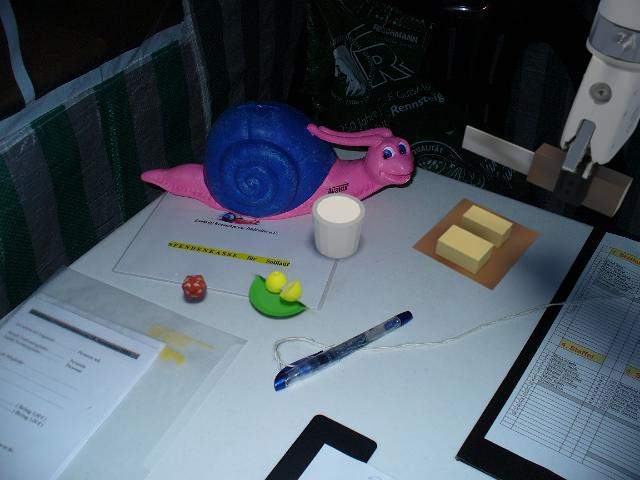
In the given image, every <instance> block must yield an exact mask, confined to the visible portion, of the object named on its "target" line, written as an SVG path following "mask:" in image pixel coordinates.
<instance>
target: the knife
mask: <svg viewBox="0 0 640 480" xmlns="http://www.w3.org/2000/svg"><path fill="white" fill-rule="evenodd" d="M461 148H462V149H465V150H467V151H470V152H472V153H475V154H476V155H478V156H482V157H484V158H486V159H489V160H491V161H493V162H495V163H497V164H500V165H502V166H505V167H507V168H509V169H511V170H514V171H516V172H519V173H522V174H524V175H526V179H525V181H526V182H529V183H531V184H533V185H536V186H538V187H540V188H543V189H545V190H547V191H549V192H551V193H553V190H554V188H555V185H556V182H557V179H558V177H559V174H560V171H561V168H562V166H563V164H564V161H565V159H566V156H567V153H568V151H565V150H563V149H562V148H558V147H555V146H554V145H551V144H548V143H546V142H543V143H542V145H540V146H539V147H538V149H536V150H535V151H534V152H533V151H531V150H529V149H526V148H524V147H523V146H519V145H517V144H514V143H512V142H509V141H506V140H505V139H502V138H499V137H497V136H496V135H495V136H494V135H492V134H489V133H487V132H485V131H482V130H480V129H477V128H475V127H473V126H470V125H466V127H465V131H464V135H463V141H462V145H461ZM582 160H583V161H585V162H586V163H588V160H586V159H583V158H582ZM590 175H591V176H593V178H592V180H591V183H590V185H589V187H588V190H587V192H586V195H585V197H584V200H583V202H582V204H581V206H583V207H587V208H588V209H591V210H593V211H596V212H598V213H600V214H602V215H605V216H607V217H609V218H613V217H614V216H615V214H616V213H617V212H618V210H619V208H621V205H622V203H623V201H624V199H625V197H626V195H627V192H628V190H629V188H630V186H631V184H632V181H633V180H634V178H633V177H631V176H628V175H626V174H623V173H622V172H619V171H616V170H614V169H611V168H608V167H606V166H604V165H603V166H601V165H599V164H596V163H595V165H594V168H593V170H592V172H591V174H590Z"/></svg>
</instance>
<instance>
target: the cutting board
mask: <svg viewBox="0 0 640 480" xmlns="http://www.w3.org/2000/svg"><path fill="white" fill-rule="evenodd" d="M473 205H475V206H477V207H479V208H481V209H483V210H485V211H487V212H489V213H492V214H494V215H496V216H498V217H500V218H502V219H504V220H506V221H508V222H511V223H513V225H512V228H511V231H510V234H509V237H508V238H507V239H506V241H505V242H504V243H503V244H502V245H501V246H500V247H499V248H497V247H495V246H493V249H492V252H491V255H490V258H489V259H488V261H487V262H486V263H485V264H484V265H483V266H482V267H481V268H480V269H479V270H478V272H477V273H476V274H473V273H471V272H470V271H468V270H466V269H464V268H462V267H460V266H458V265H456V264H455V263H453V262H451V261H449V260H447V259H445V258H443V257H441V256H440V255H438V254H436V253H435V251H436V246H437V242H438V239H439V238H440V237H441V236H442V235H443V234H444V233H445V232H446V231H447V230H448V229H449V228H450V227H451V226H452V225H456V226H458V227H460V225H461V221H462V216H463V215H464V214H465V213H466V212H467V211H468V210H469V209H470V208H471V207H472V206H473ZM540 235H541V233H540V232H537V231H536V230H534V229H531V228H529V227H528V226H526V225H523V224H521V223H519V222H517V221H514V220H512V219H510V218H508V217H505V216H504V215H502V214H500V213H497V212H495V211H493V210H491V209H489V208H487V207H485V206H484V205H480V204H478V203H476V202H474V201H472V200H470V199H467V198H465V197H463V198H462V199H461V200H460V201H459V202H458V203H457V204H456V205H455V206H454V207H453V208H452V209H451V210H450V211H448V212H447V213H446V214H445V215H443V217H442V218H441V219H440V220H439V221H438V222H437V223H436V224H434V226H433V227H432V228H430V229H429V230H428V231H427V232H426V233H425V234H424V235H423V236H421V238H420V239H419V240H418V241H417V242H415V243H414V244H413V245H412V246H411V248H413V250H415V251H418V252H419V253H422V254H423V255H425V256H426V257H429V258H431V259H433V260H435V261H437V262H438V263H440V264H442V265H444V266H446V267H448V268H449V269H451V270H452V271H455V272H457V273H458V274H460V275H463V276H465V278H468V279H470V280H471V281H473V282H475V283H477V284H479V285H481V286H482V287H485V288H487V289H488V290H490V291H494V289H495V288H496V287H497V286H498V285H499V283H500V282H501V281H502V280H503V279H504V278H505V276H506V275H507V274H508V273H509V272H510V271H511V270H512V268H513V267H514V266H515V264H517V262H518V261H519V260H520V259H521V257H522V256H523V255H524V254H525V253H526V252H527V250H528V249H529V248H530V247H531V246H532V245H533V244H534V242H535V241H536V240H537V239H538V238H539V236H540Z"/></svg>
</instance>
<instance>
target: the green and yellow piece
mask: <svg viewBox="0 0 640 480" xmlns="http://www.w3.org/2000/svg"><path fill="white" fill-rule="evenodd" d="M283 287H284V288H283ZM282 288H283V289H282ZM248 289H249V290H248V291H249V292H248V295H249V296H248V297H249V300H250V302H251V304H252V305H253V306H254V307H255V308H256V309H257V310H258V311H260V312H262V313H263V314H266V315H269V316H274V317H287V316H292V315H294V314H297V313H299V312H302V311H303V310H304V309H305V308H307V307H308V306H307V305H306V304H304V303H303V302H301V301H300V300H299V299H300V298H301V296H302V293H303V290H302V289H303V288H302V285H301V283H300V282H299V280H298V279H295V280H292V281H291V282H289V283H288V278H287V276H286V274H284V272H281V271H279V270H278V271H277V270H276V271H272V272H270V273H269V274H268V275H267V277H266V278H265V277H263V276H261V275H260V274H259V275H257V276H256V277H255V278H254V279H253V281H252V282H251V284H250V285H249V288H248Z"/></svg>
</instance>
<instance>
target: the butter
mask: <svg viewBox="0 0 640 480" xmlns="http://www.w3.org/2000/svg"><path fill="white" fill-rule="evenodd" d="M493 245H494V244H492V243H490V242H488V241H486V240H484V239H482V238H480V237H478V236H476V235H474V234H472V233H470V232H468V231H466V230H464V229H462V228H460V227H458V226H456V225H452V226H451V227H450V228H449V229H448V230H447V231H446V232H445V233H444V234H443V235H442V236H441V237H440V238H439V239H438V242H437V246H436V251H435V253H436V254H438V255H440V256H441V257H443V258H445V259H447V260H449V261H451V262H453V263H455V264H456V265H458V266H460V267H462V268H464V269H466V270H468V271H470V272H471V273H473V274H476V273H477V272H478V270H479V269H480V268H481V267H482V266H483V265H484V264H485V263H486V262H487V261H488V259H489V258H490V255H491V252H492V249H493Z"/></svg>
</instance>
